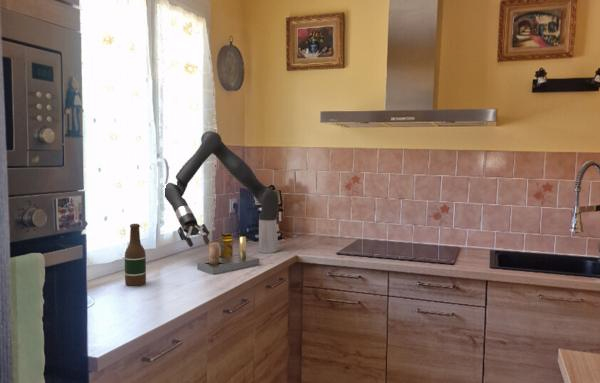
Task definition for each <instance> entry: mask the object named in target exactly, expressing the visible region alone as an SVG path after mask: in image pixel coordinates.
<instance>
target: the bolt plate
mask: <svg viewBox="0 0 600 383" xmlns="http://www.w3.org/2000/svg"><path fill="white" fill-rule="evenodd" d="M238 250H239V254H238V255H232V257H227V258H221V259H219V265H215V266H211V265H209V260H206V261H201V262H197V263H196V267H197V268H196V270H197V271H201V272H203V273H204V272H205V273H207V274H210V275H216V274H217V275H218V274H222V273H223V274H224V273H226V272H231V271H236V270H243V269H246V268H251V267H257V266H259V265H260V258H257V257H253V256H250V255H247V237H246V236H239V248H238Z"/></svg>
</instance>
